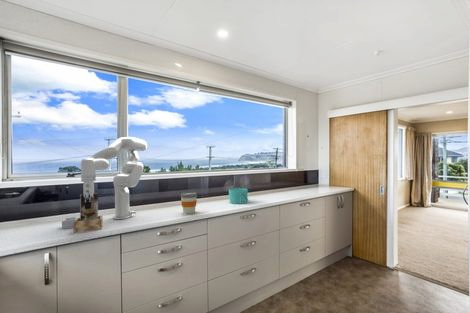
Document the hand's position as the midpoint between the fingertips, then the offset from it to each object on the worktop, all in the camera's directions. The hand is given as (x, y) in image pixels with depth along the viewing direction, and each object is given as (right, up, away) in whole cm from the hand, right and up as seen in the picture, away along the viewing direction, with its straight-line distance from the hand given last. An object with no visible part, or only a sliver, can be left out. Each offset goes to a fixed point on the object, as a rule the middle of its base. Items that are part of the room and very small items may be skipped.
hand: (88, 207), depth 141 cm
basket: (+94, -13, +77) cm, 122 cm away
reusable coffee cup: (+54, -13, +39) cm, 68 cm away
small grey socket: (-15, -13, +5) cm, 20 cm away
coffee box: (0, -8, 0) cm, 8 cm away
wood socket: (0, -13, 0) cm, 13 cm away
